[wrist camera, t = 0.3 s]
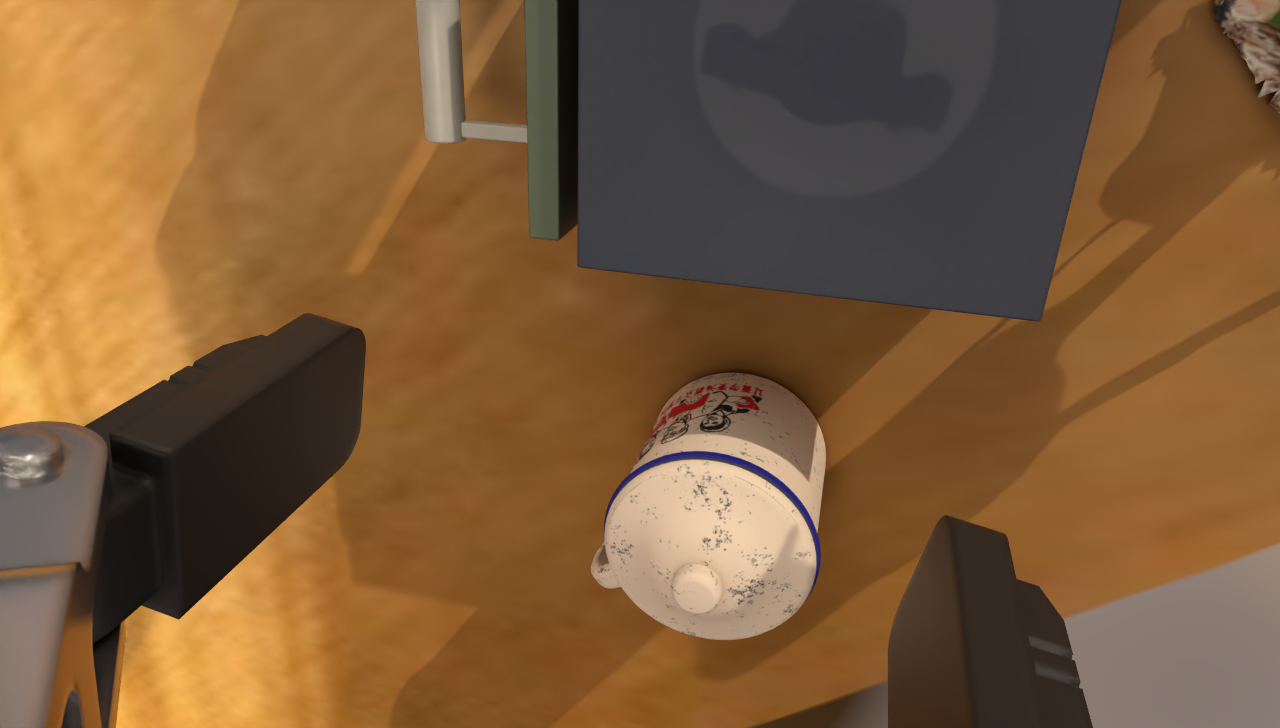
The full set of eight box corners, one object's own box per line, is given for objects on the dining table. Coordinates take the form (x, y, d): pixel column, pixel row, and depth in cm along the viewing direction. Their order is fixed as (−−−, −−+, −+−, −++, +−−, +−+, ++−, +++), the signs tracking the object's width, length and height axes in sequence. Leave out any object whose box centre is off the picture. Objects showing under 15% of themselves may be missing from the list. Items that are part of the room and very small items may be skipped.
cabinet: (640, 204, 40) (576, 267, 32) (652, -145, 34) (578, -178, 26) (1005, 241, 36) (1041, 322, 28) (1090, -139, 31) (1165, -174, 22)
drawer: (479, 180, 40) (401, 223, 34) (465, -133, 35) (369, -154, 28) (924, 225, 36) (933, 283, 30) (987, -124, 31) (1015, -145, 24)
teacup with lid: (762, 331, 41) (721, 456, 31) (868, 478, 43) (862, 642, 32) (574, 442, 46) (485, 581, 36) (675, 569, 48) (618, 735, 38)
